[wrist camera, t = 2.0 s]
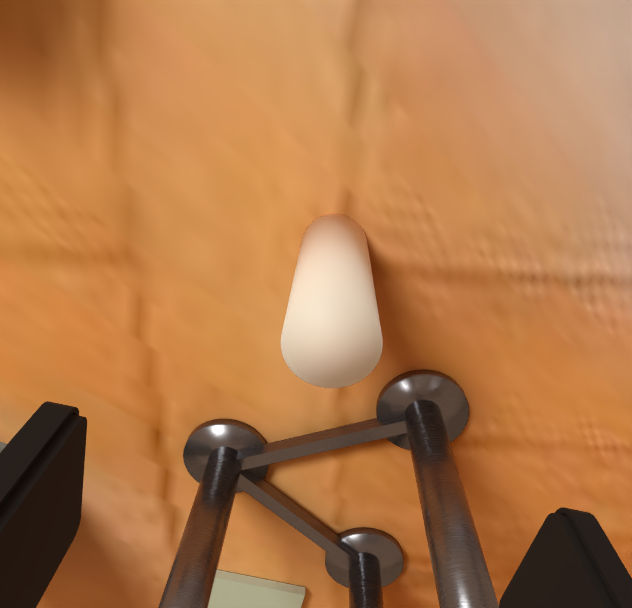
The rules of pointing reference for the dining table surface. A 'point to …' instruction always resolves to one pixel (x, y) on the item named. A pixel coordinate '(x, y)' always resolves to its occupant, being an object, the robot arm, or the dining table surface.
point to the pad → (253, 592)
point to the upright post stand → (354, 544)
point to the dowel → (332, 307)
